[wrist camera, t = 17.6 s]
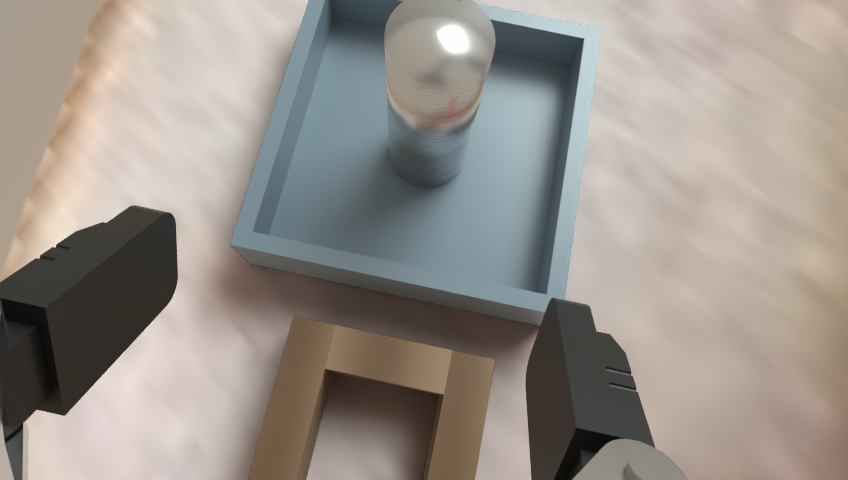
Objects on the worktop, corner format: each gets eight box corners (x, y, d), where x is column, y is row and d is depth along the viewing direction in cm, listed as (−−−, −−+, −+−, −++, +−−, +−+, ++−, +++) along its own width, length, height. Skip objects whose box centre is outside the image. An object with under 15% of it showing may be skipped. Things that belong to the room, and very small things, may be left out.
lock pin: (471, 126, 30) (503, 2, 21) (457, 195, 28) (485, 96, 19) (397, 111, 30) (397, -19, 21) (381, 179, 29) (373, 73, 19)
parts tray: (580, 68, 32) (601, 28, 29) (542, 326, 28) (562, 316, 24) (326, 15, 32) (318, -30, 29) (249, 263, 28) (229, 244, 25)
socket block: (484, 364, 27) (495, 359, 24) (449, 568, 25) (456, 590, 22) (304, 325, 27) (293, 315, 24) (250, 523, 25) (231, 539, 22)
